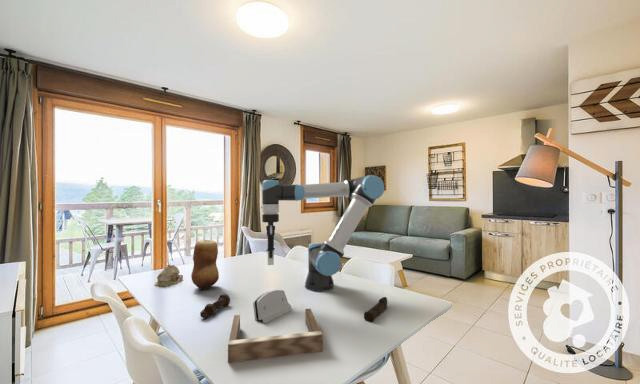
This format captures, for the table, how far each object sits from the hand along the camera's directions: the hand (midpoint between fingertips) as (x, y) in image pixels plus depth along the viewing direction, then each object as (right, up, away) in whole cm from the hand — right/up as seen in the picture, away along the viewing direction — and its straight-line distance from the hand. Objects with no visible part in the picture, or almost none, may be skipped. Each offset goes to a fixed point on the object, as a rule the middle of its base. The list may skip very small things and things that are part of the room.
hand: (270, 264), depth 131 cm
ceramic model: (-62, -17, +27) cm, 70 cm away
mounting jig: (+8, -16, -35) cm, 40 cm away
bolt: (-21, -17, -13) cm, 30 cm away
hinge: (+3, -17, -15) cm, 23 cm away
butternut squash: (-37, -17, +17) cm, 45 cm away
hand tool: (+46, -17, -15) cm, 51 cm away
